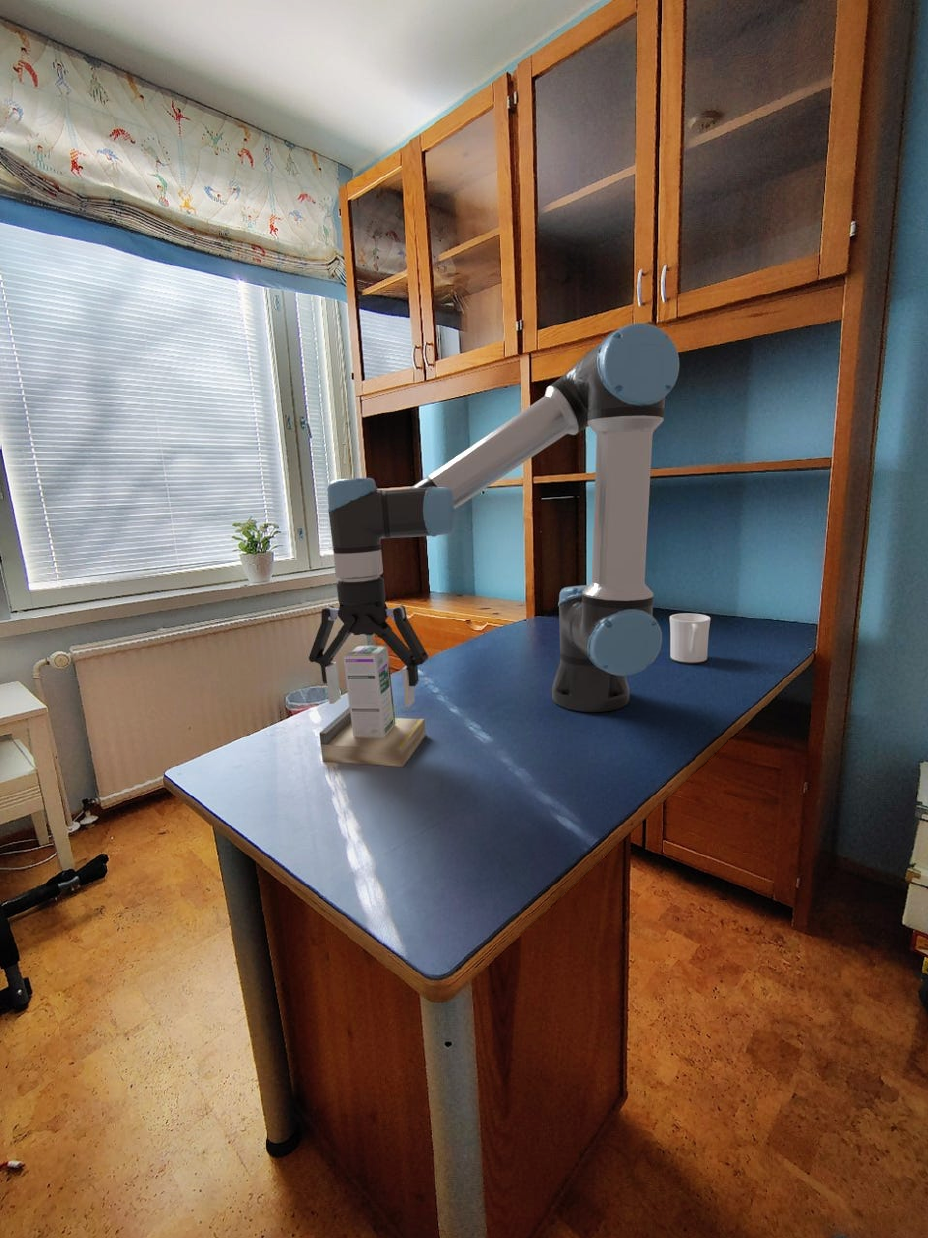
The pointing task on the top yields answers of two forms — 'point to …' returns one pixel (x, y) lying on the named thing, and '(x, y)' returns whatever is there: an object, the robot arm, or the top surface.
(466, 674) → the top surface
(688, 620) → the mug
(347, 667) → the syrup box
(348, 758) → the dock
